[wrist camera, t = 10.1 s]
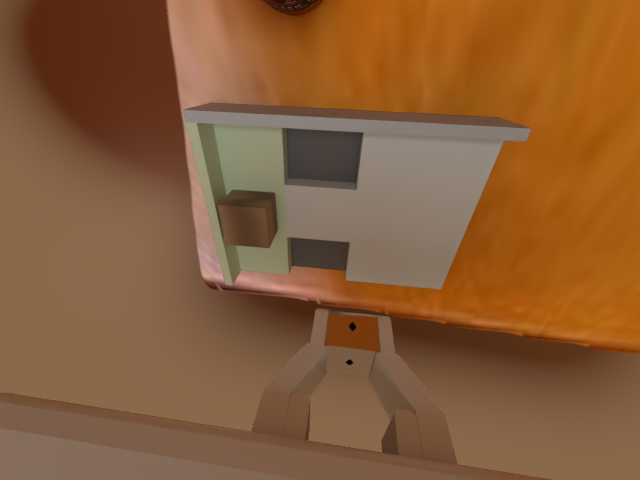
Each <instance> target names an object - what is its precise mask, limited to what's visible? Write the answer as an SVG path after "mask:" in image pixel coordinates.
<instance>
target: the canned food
mask: <svg viewBox="0 0 640 480" xmlns="http://www.w3.org/2000/svg"><path fill="white" fill-rule="evenodd" d="M263 1H265V2H266V3H267V4H269V5H270V6H271V7H273V8H274V9H276V10H277V11H280V12H282V13H285V14H291V15H296V14H303V13H305V12H307V11H310V10H311V9H313V8H314V7H315V6H317V5H318V4H319V3H320V2H321V1H322V0H263Z"/></svg>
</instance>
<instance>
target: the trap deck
mask: <svg viewBox="0 0 640 480" xmlns="http://www.w3.org/2000/svg"><path fill="white" fill-rule="evenodd" d="M183 113H184V117H185V121H186V125H187V129H188V134H189V138H190V142H191V146H192V150H193V154H194V158H195V162H196V166H197V170H198V174H199V179H200V183H201V187H202V191H203V195H204V199H205V203H206V207H207V211H208V215H209V219H210V223H211V228H212V232H213V236H214V240H215V244H216V248H217V252H218V256H219V260H220V264H221V268H222V273H223V277H224V281H225V285H233V284H234V282H235V280H236V278H237V277H238V275H239V273H240V271H251V272H261V273H272V274H282V275H289V273H290V270H291V266H302V267H312V268H323V269H334V270H345V271H346V278H345V280H346V281H356V282H367V283H377V284H388V285H398V286H409V287H420V288H430V289H441V288H442V286H443V283H444V281H445V279H446V276H447V274H448V272H449V269H450V267H451V264H452V262H453V260H454V257H455V255H456V253H457V250H458V248H459V246H460V243H461V241H462V239H463V236H464V234H465V232H466V229H467V227H468V224H469V222H470V220H471V217H472V215H473V213H474V210H475V208H476V206H477V203H478V201H479V199H480V196H481V194H482V192H483V189H484V187H485V184H486V182H487V180H488V177H489V175H490V173H491V170H492V168H493V166H494V163H495V161H496V159H497V156H498V154H499V152H500V149H501V147H502V144H503V142H504V141H521V142H526V140H527V138H528V135H529V133H530V131H531V128H528V127H525V126H522V125H519V124H516V123H513V122H511V121H508V120H505V119H502V118H499V117H480V116H460V115H441V114H421V113H402V112H383V111H363V110H344V109H325V108H305V107H286V106H266V105H247V104H228V103H208V104H204V105H200V106H196V107H192V108H188V109H184V110H183ZM232 189H233V190H247V191H261V192H275V198H276V211H277V225H278V230H277V233H276V235H275V237H274V239H273V242H272V244H271V246H270V248H258V247H247V246H235V245H226V242H225V237H224V232H223V228H222V223H221V219H220V214H219V210H218V204H219V203H220V202H221V201H222V200H223V199H224V198H225V197H226V196H227V195H228V194H229V193H230V192H231V191H232Z"/></svg>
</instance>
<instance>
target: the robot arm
mask: <svg viewBox="0 0 640 480" xmlns="http://www.w3.org/2000/svg"><path fill="white" fill-rule="evenodd" d="M328 312H329V313H328ZM326 373H335V374H343V375H351V376H358V377H363V378H369V381H370V383H371V385H372V387H373V388H374V390H375V392H376V394H377V396H378V398H379V400H380V402H381V403H382V405H383V407H384V409H385V411H386V413H387V415H388V417H389V419H390V420H391V421H390V424H389V425H388V428H387V430H386V432H385V434H384V436H383V439H382V452H376V451H370V450H363V449H357V448H351V447H345V446H338V445H332V444H326V443H320V442H313V441H308V438H309V430H310V429H309V428H310V399H309V398H310V396H311V395H312V393H313V392H314V391H315V389H316V388H317V386H318V385H319V384H320V382H321V381H322V379H323V378H324V376H325V375H326ZM0 480H552V479H545V478H539V477H533V476H527V475H520V474H514V473H508V472H501V471H495V470H489V469H483V468H476V467H469V466H464V465H458V464H457V460H456V456H455V453H454V449H453V445H452V441H451V437H450V433H449V429H448V425H447V421H446V417H445V414H444V413H443V411H442V410H441V409H440V407H439V406H438V405H437V404H436V402H435V401H434V400H433V399H432V397H431V396H430V394H429V393H428V392H427V390H426V389H425V388H424V387H423V385H422V384H421V383H420V381H418V379H417V378H416V376H415V375H414V374H413V372H412V371H411V370H410V369H409V367H408V366H407V364H406V363H405V362H404V361H403V359H402V358H401V357H400V356H399V355H395V348H394V341H393V333H392V326H391V319H390V318H389V317H386V316H376V315H370V314H360V313H348V312H341V311H334V310H326V309H316V312H315V317H314V323H313V330H312V335H311V341H310V344H309V343H306V344H305V345H304V346H303V347H302V348H301V350H300V351H299V352H298V353H297V354H296V355H295V356H294V357H293V358H292V359H291V360H290V361H289V362H288V363H287V365H285V366H284V367H283V369H282V370H281V371H280V372H279V373H278V374H277V375H276V376H275V377H274V378H273V379H272V380H271V381H270V382H269V383H268V384H267V386H266V387H265V388H264V390H263V394H262V397H261V401H260V404H259V407H258V411H257V414H256V418H255V421H254V424H253V428H252V431H251V432H250V431H244V430H238V429H232V428H225V427H218V426H213V425H206V424H199V423H193V422H187V421H181V420H175V419H169V418H162V417H156V416H150V415H143V414H137V413H130V412H125V411H118V410H112V409H106V408H99V407H93V406H86V405H80V404H74V403H68V402H61V401H55V400H48V399H42V398H36V397H30V396H24V395H18V394H13V393H0Z"/></svg>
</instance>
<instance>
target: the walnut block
mask: <svg viewBox="0 0 640 480" xmlns="http://www.w3.org/2000/svg"><path fill="white" fill-rule="evenodd" d="M218 210H219V214H220V219H221V223H222V228H223V232H224V237H225V242H226V245H235V246H247V247H258V248H270V246H271V244H272V242H273V239H274V237H275V235H276V233H277V230H278V225H277V211H276V198H275V192H261V191H247V190H233V189H232V191H231V192H230V193H229V194H228V195H227V196H226V197H225V198H224V199H223V200H222V201H221V202H220V203H219V204H218Z"/></svg>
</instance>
